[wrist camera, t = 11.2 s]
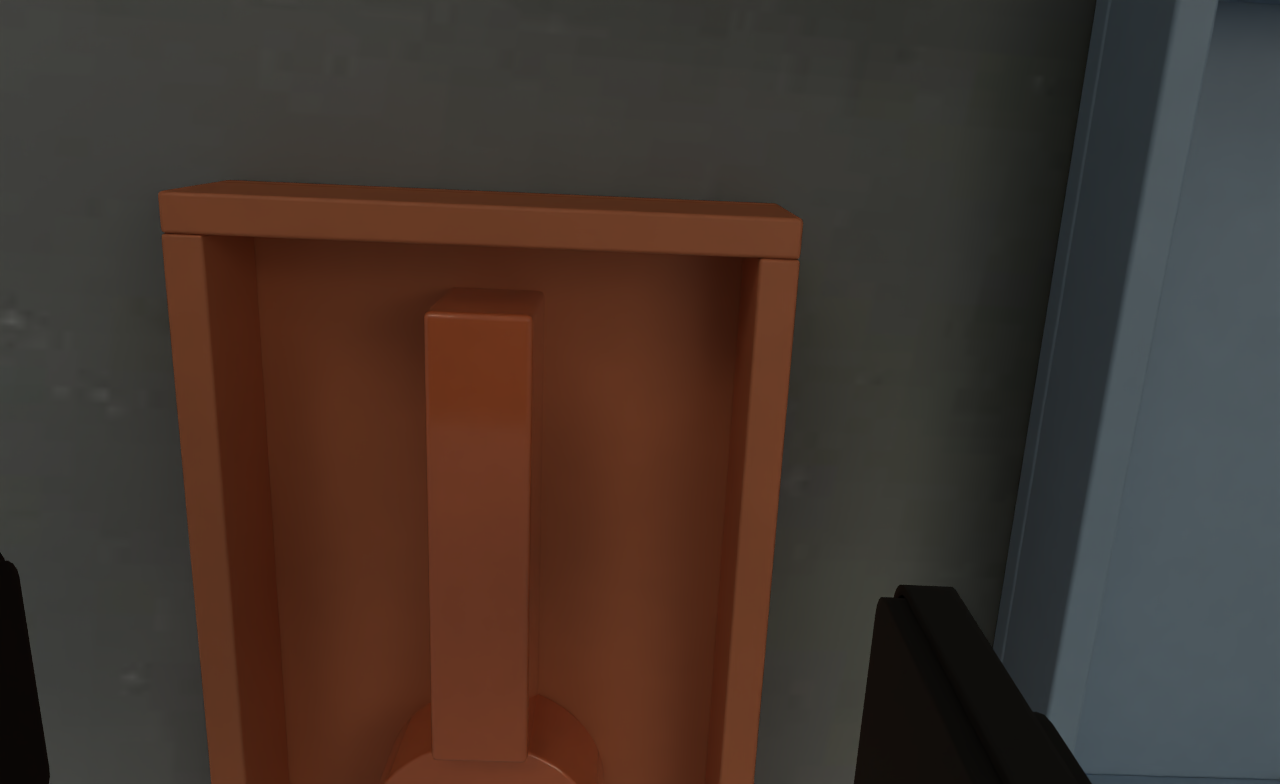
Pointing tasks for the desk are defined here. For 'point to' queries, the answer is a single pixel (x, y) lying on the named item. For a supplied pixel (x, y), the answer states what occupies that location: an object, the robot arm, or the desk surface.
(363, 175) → the desk surface
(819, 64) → the desk surface
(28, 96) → the desk surface
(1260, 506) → the blue tray
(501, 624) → the terracotta spoon
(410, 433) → the terracotta tray
